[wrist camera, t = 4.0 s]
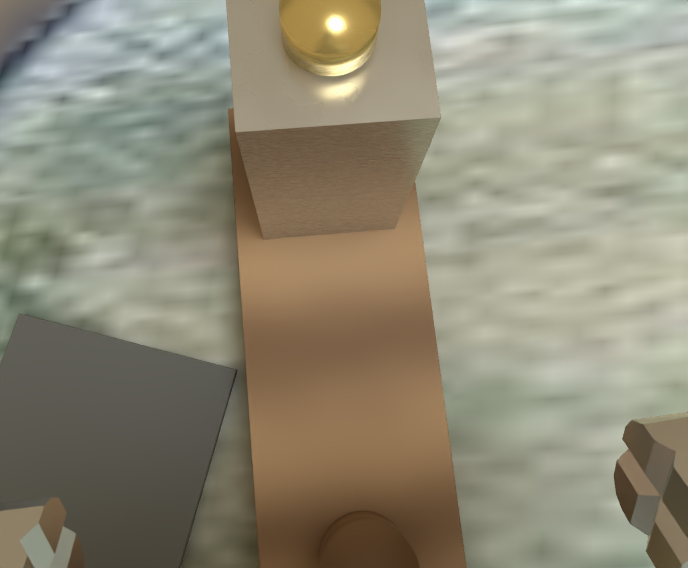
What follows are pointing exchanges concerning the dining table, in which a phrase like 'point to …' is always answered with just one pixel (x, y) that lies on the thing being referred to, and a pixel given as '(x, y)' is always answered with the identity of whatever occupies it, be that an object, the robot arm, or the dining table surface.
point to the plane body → (344, 396)
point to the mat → (109, 438)
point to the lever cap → (331, 110)
